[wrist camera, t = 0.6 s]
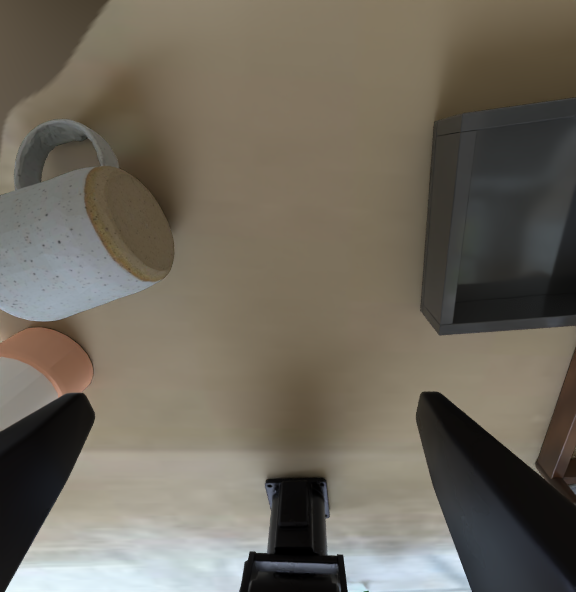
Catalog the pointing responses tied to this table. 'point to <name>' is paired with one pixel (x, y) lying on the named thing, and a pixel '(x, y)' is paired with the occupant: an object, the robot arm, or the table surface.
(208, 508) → the table surface
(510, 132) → the open square storage box
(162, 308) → the table surface
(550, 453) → the cup rack
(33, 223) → the ceramic mug
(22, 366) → the pepper shaker
